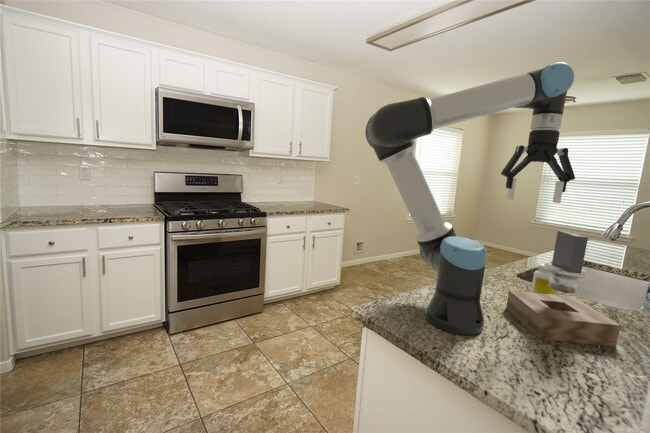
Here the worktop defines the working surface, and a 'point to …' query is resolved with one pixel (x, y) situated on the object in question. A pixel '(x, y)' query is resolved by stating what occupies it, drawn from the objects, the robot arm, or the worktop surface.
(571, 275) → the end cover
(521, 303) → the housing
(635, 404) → the worktop surface
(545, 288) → the supplement bottle
